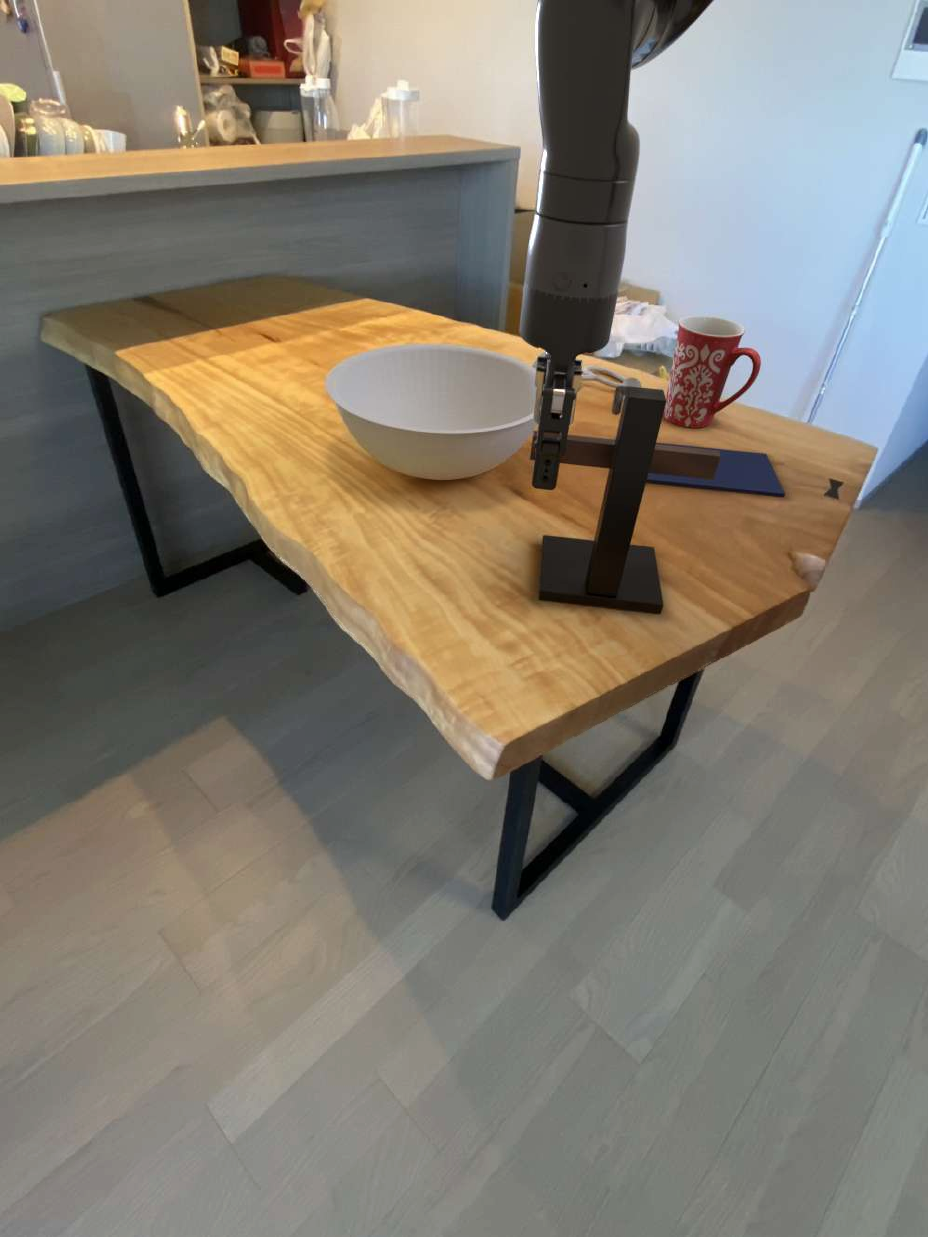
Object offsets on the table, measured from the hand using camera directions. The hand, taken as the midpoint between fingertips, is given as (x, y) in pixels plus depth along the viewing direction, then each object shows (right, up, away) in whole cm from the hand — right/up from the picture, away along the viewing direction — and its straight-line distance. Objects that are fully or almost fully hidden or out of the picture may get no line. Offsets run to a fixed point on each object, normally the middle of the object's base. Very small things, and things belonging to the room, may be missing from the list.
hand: (544, 468), depth 65 cm
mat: (+23, +6, +26) cm, 35 cm away
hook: (+10, +22, +44) cm, 51 cm away
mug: (+27, +15, +37) cm, 48 cm away
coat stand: (+6, -10, +6) cm, 13 cm away
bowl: (-11, +6, +24) cm, 27 cm away
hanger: (+7, 0, -1) cm, 7 cm away
